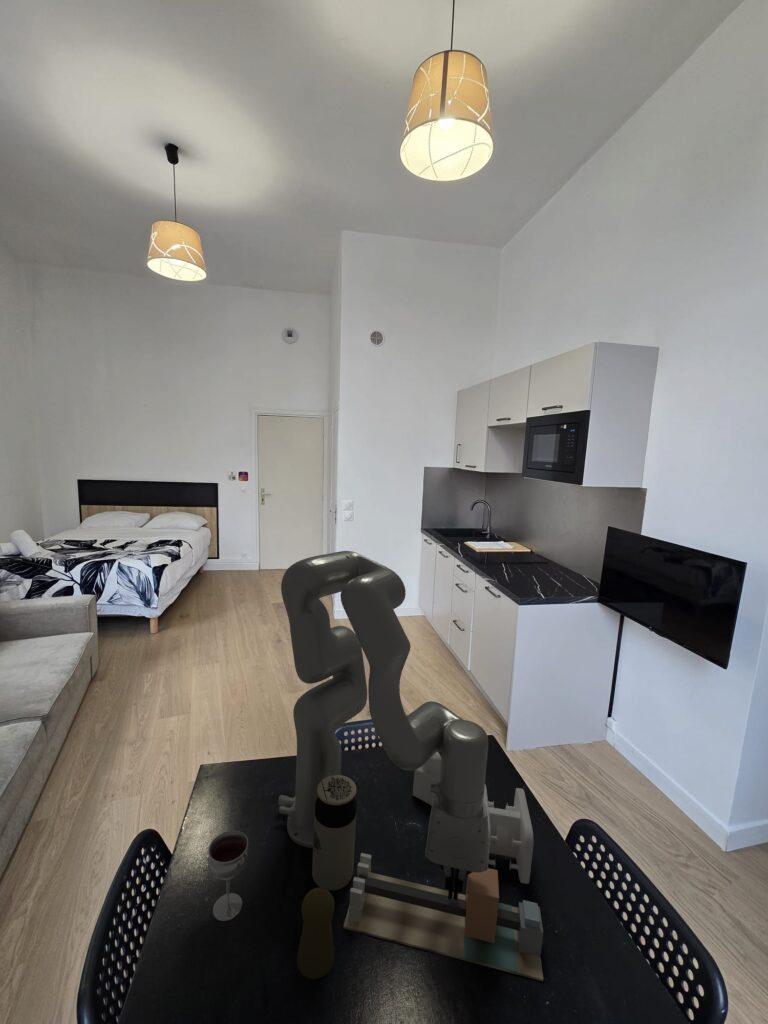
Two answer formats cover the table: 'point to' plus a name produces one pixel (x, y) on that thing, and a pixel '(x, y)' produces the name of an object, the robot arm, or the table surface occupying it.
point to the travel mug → (334, 832)
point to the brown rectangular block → (482, 905)
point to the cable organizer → (511, 834)
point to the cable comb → (359, 888)
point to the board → (442, 932)
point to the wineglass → (228, 869)
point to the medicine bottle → (427, 778)
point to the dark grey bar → (432, 900)
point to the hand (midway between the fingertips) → (453, 892)
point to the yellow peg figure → (316, 934)
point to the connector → (530, 928)
